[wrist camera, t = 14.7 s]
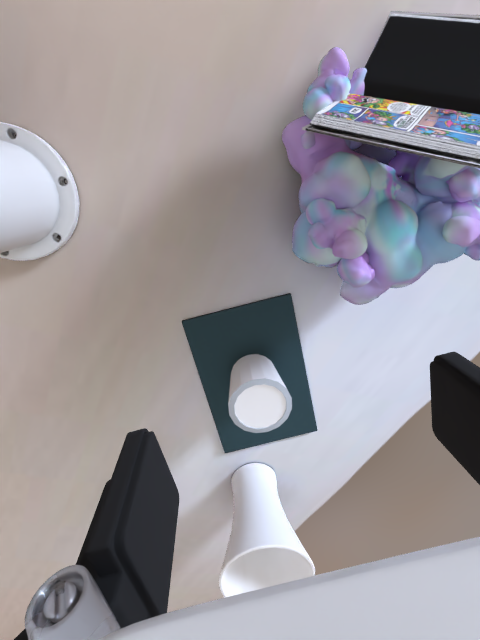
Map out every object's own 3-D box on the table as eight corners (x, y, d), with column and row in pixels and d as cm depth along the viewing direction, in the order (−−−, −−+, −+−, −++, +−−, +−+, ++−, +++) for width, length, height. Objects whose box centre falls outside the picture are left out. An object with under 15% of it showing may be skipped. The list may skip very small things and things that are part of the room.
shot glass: (290, 363, 42) (305, 395, 36) (262, 405, 44) (271, 442, 37) (243, 340, 40) (249, 368, 34) (215, 384, 42) (216, 419, 36)
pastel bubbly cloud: (303, 328, 36) (503, 361, 21) (199, 120, 27) (407, -74, 13) (402, 233, 44) (600, 207, 29) (344, 48, 35) (580, -124, 20)
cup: (304, 470, 49) (335, 567, 36) (260, 516, 52) (276, 621, 39) (245, 439, 46) (257, 532, 34) (203, 489, 49) (199, 592, 36)
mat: (224, 451, 47) (224, 453, 46) (182, 320, 39) (181, 321, 39) (316, 428, 46) (317, 430, 46) (290, 293, 39) (290, 294, 39)
